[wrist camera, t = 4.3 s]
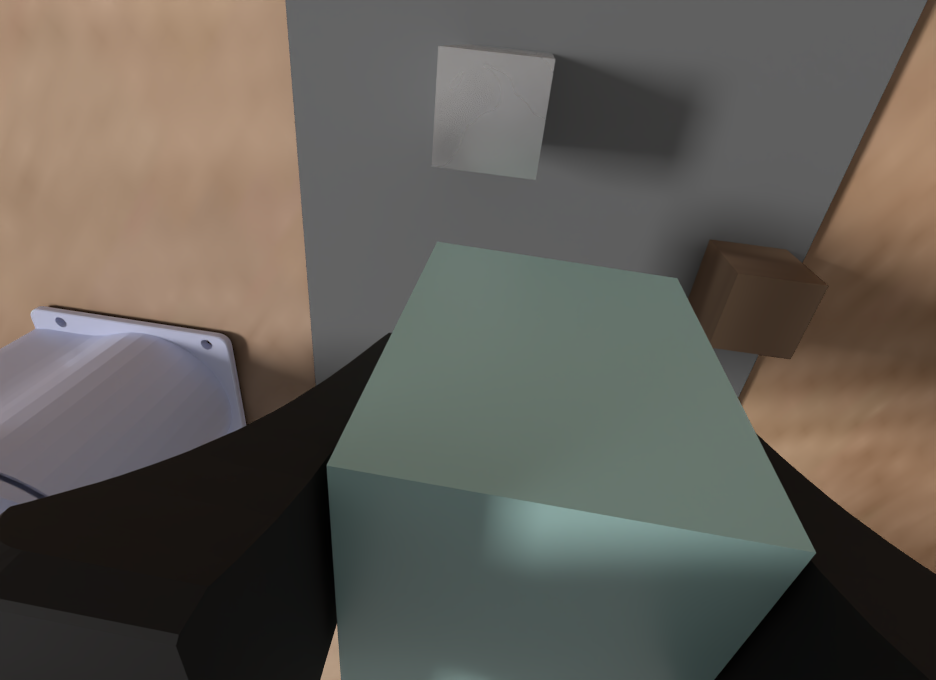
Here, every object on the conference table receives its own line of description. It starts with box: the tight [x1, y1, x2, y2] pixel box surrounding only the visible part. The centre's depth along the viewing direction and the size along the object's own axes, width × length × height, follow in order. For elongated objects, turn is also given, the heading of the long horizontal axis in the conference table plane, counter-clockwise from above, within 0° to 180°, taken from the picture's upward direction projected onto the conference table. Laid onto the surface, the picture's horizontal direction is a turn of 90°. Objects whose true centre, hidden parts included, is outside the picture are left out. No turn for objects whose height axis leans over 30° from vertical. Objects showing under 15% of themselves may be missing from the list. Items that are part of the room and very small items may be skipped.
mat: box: [286, 0, 927, 397], centre depth 20 cm, size 18×24×1 cm
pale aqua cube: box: [327, 242, 816, 680], centre depth 10 cm, size 5×5×7 cm
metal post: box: [432, 44, 555, 180], centre depth 14 cm, size 3×3×5 cm
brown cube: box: [688, 239, 828, 359], centre depth 17 cm, size 3×3×3 cm
